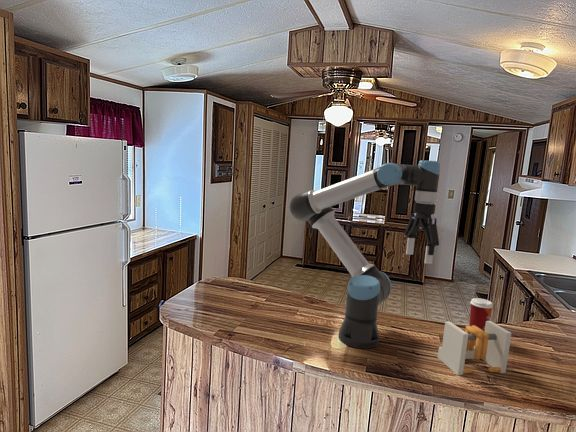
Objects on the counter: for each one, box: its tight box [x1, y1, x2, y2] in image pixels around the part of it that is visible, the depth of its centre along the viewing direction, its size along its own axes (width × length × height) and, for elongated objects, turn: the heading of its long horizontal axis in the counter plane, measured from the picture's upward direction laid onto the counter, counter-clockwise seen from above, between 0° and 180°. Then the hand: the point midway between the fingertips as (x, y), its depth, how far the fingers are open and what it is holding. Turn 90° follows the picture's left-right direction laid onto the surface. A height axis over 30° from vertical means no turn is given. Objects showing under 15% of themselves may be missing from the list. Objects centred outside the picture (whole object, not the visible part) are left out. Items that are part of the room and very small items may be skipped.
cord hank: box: [464, 324, 489, 360], centre depth 134 cm, size 8×4×9 cm, turn 11°
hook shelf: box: [437, 320, 512, 376], centre depth 135 cm, size 18×12×14 cm, turn 102°
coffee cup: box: [468, 297, 494, 331], centre depth 159 cm, size 8×8×15 cm
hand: (418, 258), depth 150 cm, fingers open, 13 cm apart
